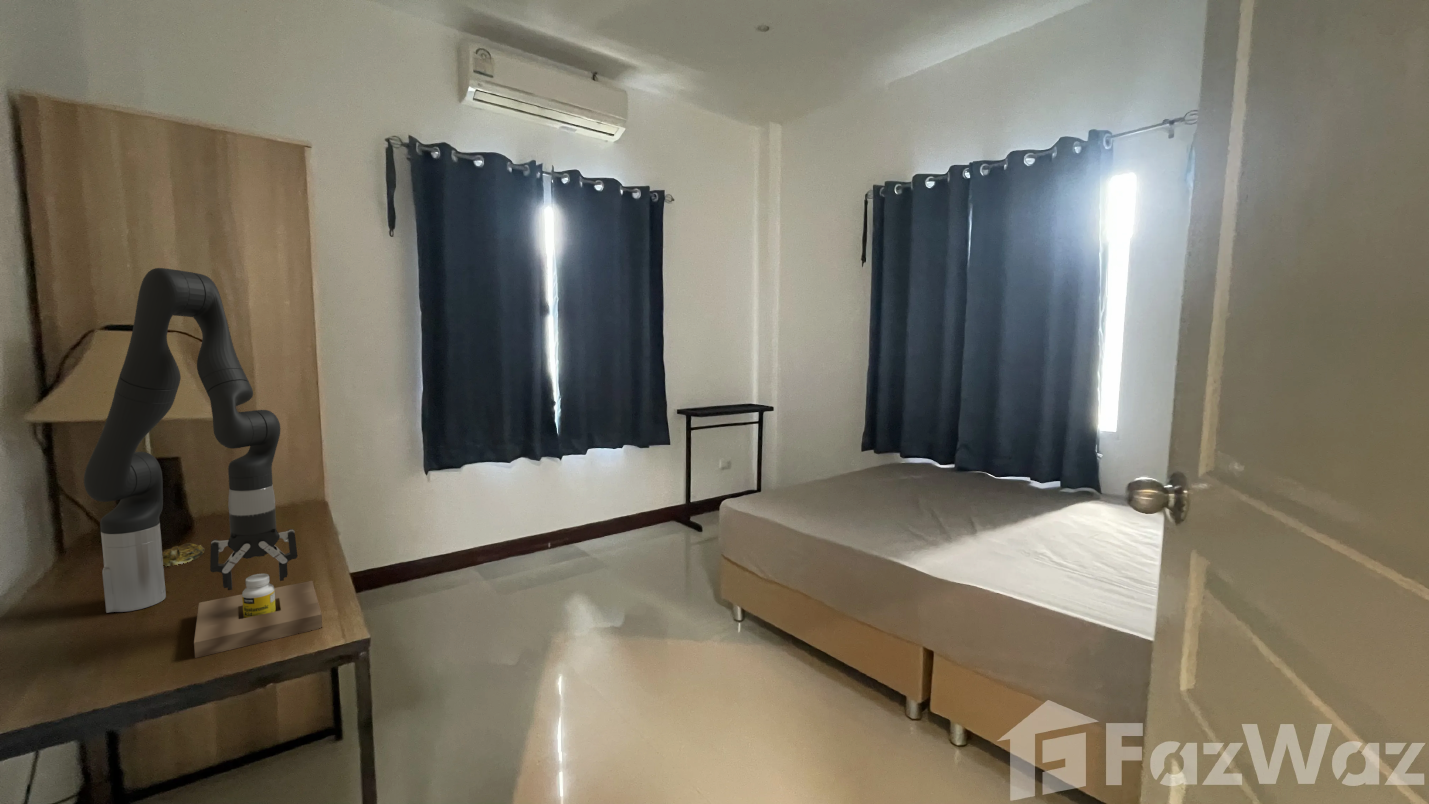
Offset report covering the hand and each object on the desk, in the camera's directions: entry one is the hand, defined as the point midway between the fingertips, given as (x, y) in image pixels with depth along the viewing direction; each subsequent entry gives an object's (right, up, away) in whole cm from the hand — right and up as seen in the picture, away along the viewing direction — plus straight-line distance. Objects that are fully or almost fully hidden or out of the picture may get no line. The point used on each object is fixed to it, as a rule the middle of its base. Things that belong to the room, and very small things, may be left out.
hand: (256, 584), depth 126 cm
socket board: (0, -8, +1) cm, 8 cm away
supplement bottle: (0, -8, +1) cm, 9 cm away
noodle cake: (-46, -3, +34) cm, 57 cm away
